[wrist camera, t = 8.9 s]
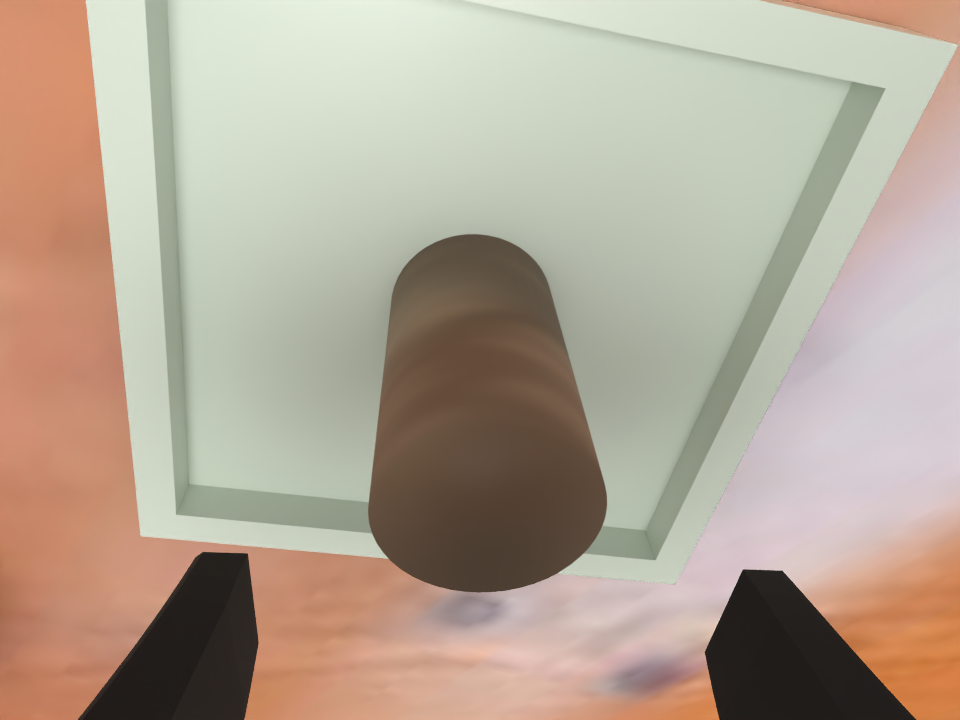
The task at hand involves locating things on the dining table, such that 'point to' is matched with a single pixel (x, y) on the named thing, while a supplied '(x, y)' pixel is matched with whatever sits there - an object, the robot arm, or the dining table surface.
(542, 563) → the pin
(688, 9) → the tray
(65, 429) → the dining table surface
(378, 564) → the dining table surface
